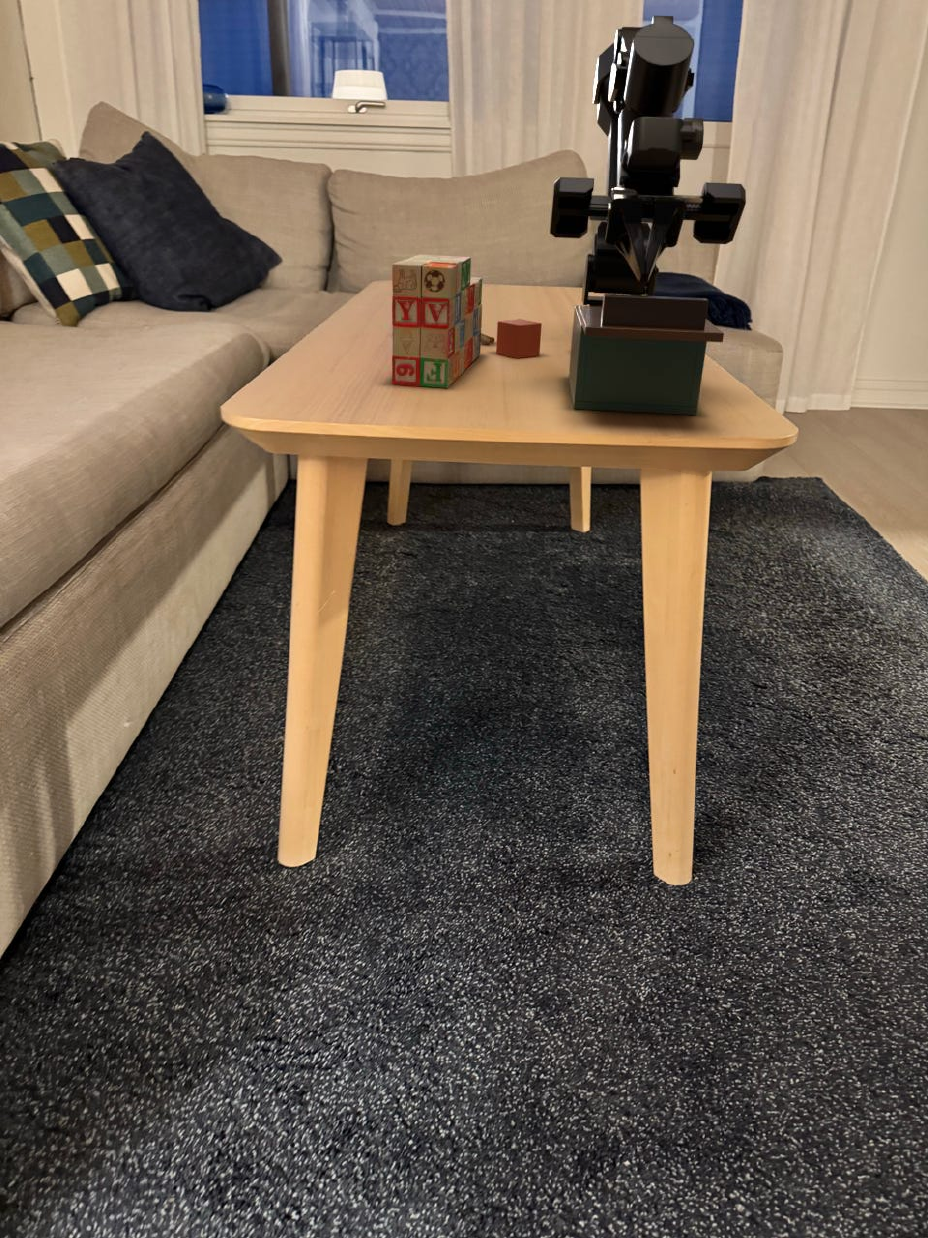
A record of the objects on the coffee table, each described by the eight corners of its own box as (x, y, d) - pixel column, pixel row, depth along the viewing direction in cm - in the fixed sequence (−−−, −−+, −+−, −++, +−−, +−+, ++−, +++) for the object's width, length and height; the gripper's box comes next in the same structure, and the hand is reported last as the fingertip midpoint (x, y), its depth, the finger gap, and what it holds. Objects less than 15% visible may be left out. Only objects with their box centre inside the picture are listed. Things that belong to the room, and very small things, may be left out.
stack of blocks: (432, 351, 116) (435, 248, 111) (481, 355, 115) (485, 250, 110) (391, 384, 97) (391, 261, 92) (448, 388, 96) (451, 264, 91)
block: (518, 350, 119) (519, 318, 117) (539, 355, 116) (542, 323, 115) (495, 353, 117) (497, 321, 115) (517, 358, 114) (519, 325, 112)
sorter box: (568, 379, 103) (574, 305, 100) (674, 384, 103) (684, 310, 99) (573, 409, 90) (581, 324, 86) (696, 415, 89) (708, 330, 86)
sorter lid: (577, 313, 93) (580, 279, 92) (695, 318, 93) (700, 284, 91) (584, 335, 80) (588, 296, 78) (722, 342, 79) (728, 302, 78)
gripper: (560, 82, 86) (554, 213, 81) (759, 88, 85) (765, 221, 80) (552, 174, 97) (546, 295, 92) (729, 180, 96) (732, 303, 91)
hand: (644, 279), depth 88 cm, fingers closed
